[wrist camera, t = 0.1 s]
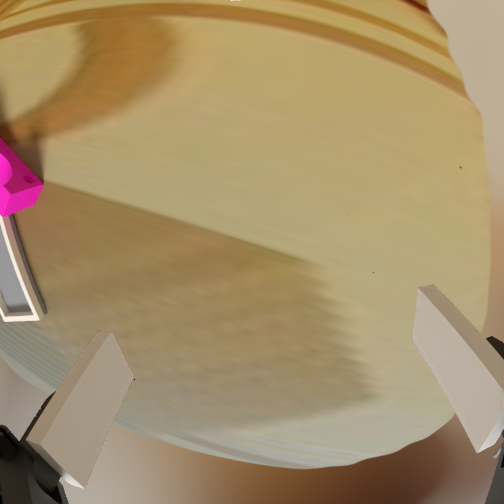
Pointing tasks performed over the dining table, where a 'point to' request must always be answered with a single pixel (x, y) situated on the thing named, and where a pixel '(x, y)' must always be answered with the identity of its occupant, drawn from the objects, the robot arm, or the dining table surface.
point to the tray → (16, 278)
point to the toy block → (16, 183)
